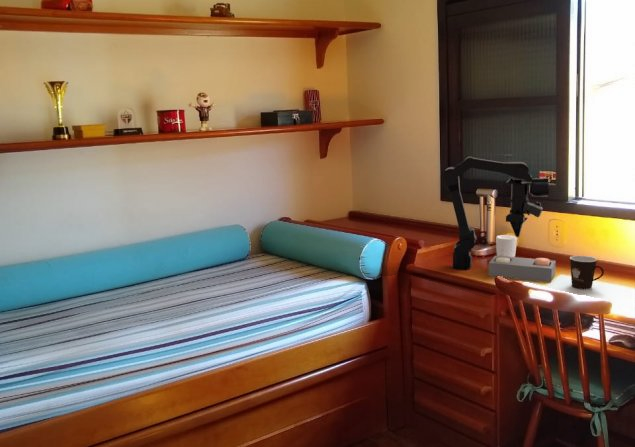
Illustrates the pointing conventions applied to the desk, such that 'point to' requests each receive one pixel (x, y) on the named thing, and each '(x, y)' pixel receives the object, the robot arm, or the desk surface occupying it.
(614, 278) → the desk surface
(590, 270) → the coffee mug
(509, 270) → the grey rectangular block
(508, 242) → the white cup
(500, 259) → the white short cylinder
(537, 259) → the terracotta button
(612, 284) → the desk surface
